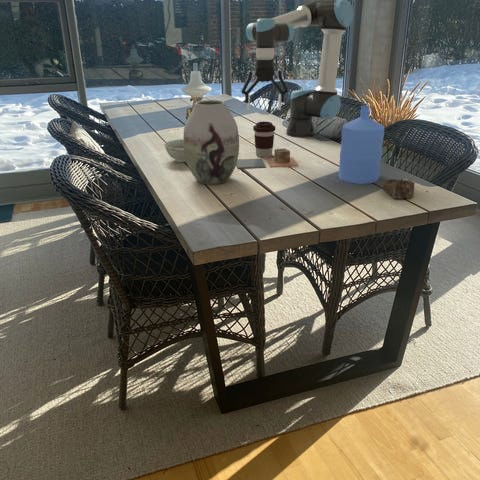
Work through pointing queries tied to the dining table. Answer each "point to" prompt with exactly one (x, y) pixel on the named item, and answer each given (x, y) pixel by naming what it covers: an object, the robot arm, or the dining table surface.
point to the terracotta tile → (275, 164)
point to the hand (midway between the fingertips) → (264, 110)
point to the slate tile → (250, 163)
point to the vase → (211, 142)
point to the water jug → (361, 149)
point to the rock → (399, 188)
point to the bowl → (176, 150)
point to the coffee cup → (264, 138)
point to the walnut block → (282, 156)
